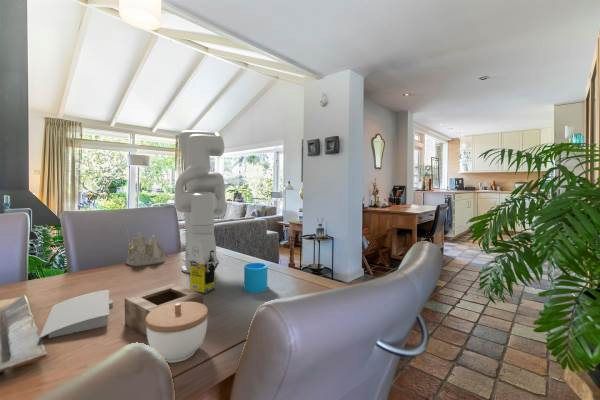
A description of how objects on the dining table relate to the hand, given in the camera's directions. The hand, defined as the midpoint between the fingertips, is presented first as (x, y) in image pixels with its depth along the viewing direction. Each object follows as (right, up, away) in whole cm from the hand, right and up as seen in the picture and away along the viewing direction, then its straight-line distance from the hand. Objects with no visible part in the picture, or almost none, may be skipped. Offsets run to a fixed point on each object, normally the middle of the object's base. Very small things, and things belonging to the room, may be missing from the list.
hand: (202, 280), depth 101 cm
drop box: (-3, -5, -22) cm, 23 cm away
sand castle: (-39, -1, +37) cm, 54 cm away
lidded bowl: (+7, -6, -37) cm, 38 cm away
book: (-26, -5, -20) cm, 34 cm away
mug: (+17, -4, +5) cm, 18 cm away
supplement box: (0, -4, 0) cm, 4 cm away
